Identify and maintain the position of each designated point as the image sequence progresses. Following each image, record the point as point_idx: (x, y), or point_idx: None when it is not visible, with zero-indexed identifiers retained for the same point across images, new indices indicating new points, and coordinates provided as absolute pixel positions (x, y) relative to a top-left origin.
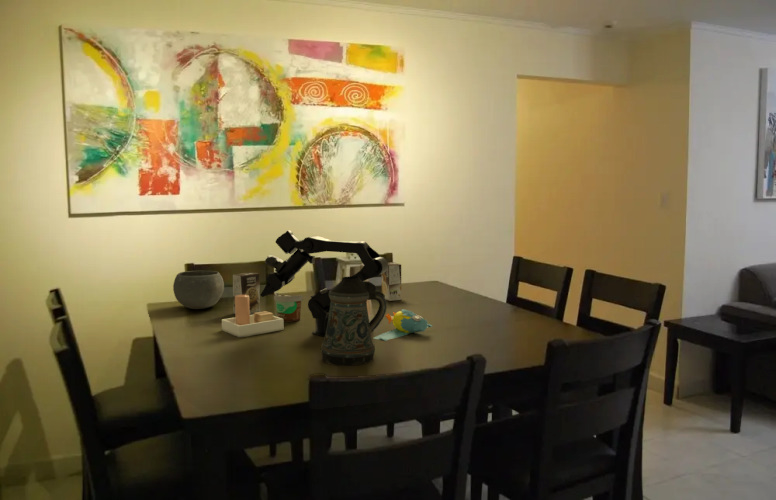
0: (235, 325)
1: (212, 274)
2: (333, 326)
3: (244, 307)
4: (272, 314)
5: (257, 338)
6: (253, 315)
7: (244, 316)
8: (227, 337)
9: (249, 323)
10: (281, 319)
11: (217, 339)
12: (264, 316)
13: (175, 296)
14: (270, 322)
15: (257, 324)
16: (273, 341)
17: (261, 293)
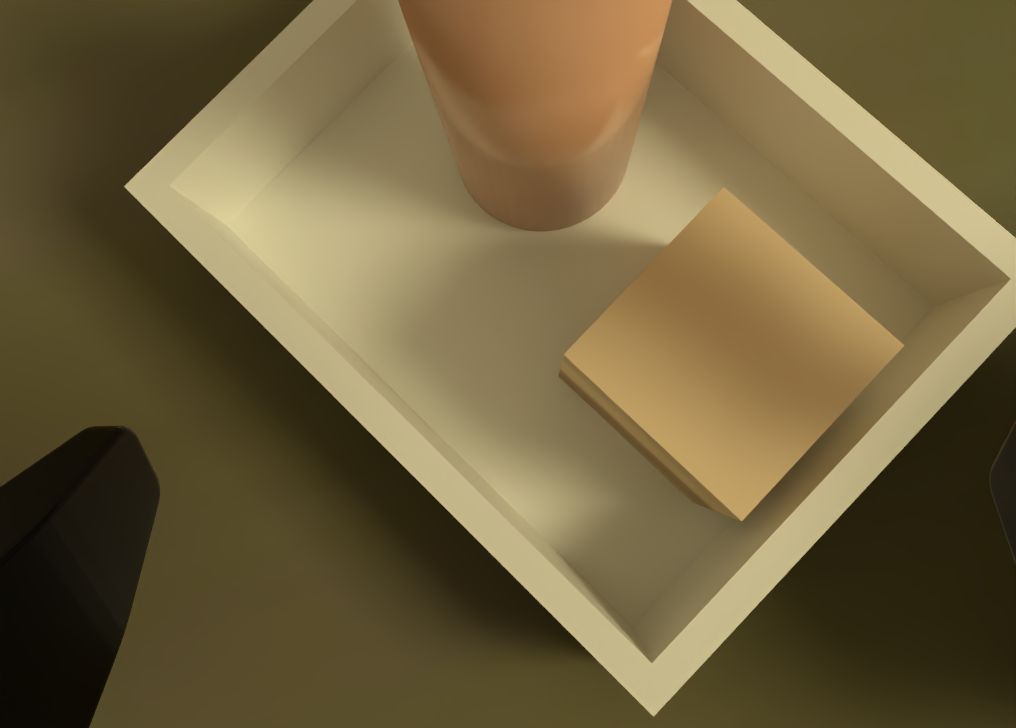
0: (200, 116)
1: None
2: None
3: (424, 49)
4: (730, 513)
5: (177, 455)
6: (856, 151)
7: (447, 122)
8: (202, 99)
9: (542, 210)
10: (624, 687)
11: (111, 25)
12: (612, 406)
13: None
14: (481, 541)
15: (330, 388)
16: None
17: (26, 477)
